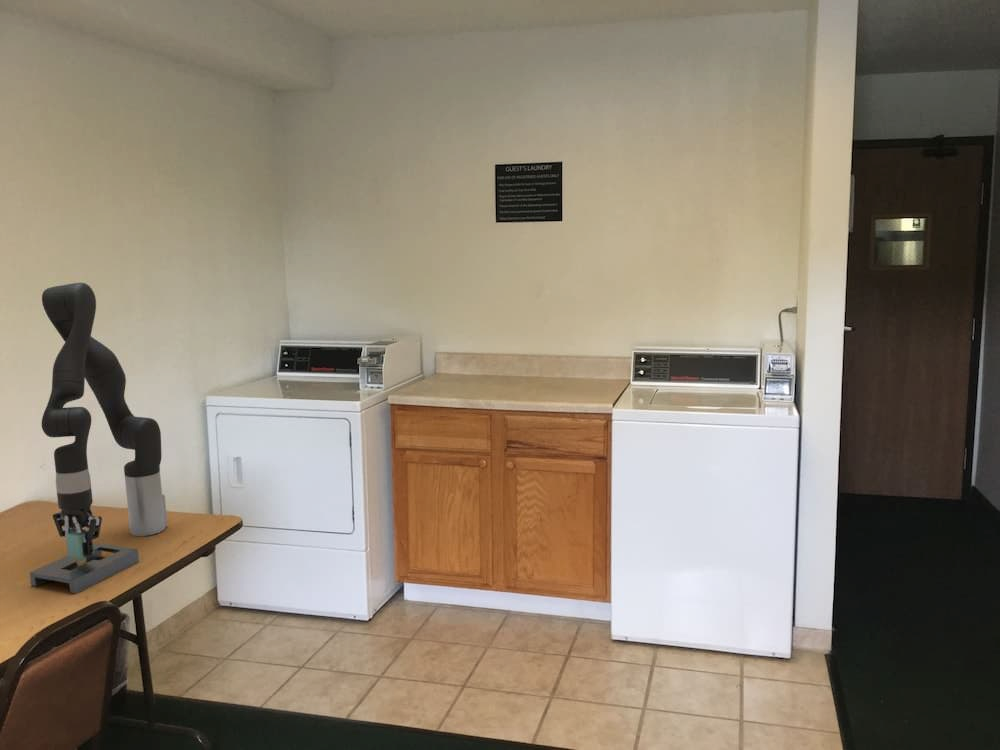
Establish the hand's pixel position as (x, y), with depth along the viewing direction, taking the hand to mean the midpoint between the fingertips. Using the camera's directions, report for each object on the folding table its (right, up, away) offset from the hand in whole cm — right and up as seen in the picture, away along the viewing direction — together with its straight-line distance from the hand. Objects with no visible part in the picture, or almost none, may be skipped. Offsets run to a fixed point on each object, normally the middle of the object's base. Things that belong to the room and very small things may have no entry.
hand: (81, 553), depth 203 cm
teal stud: (0, -5, +1) cm, 5 cm away
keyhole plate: (0, -5, +2) cm, 6 cm away
